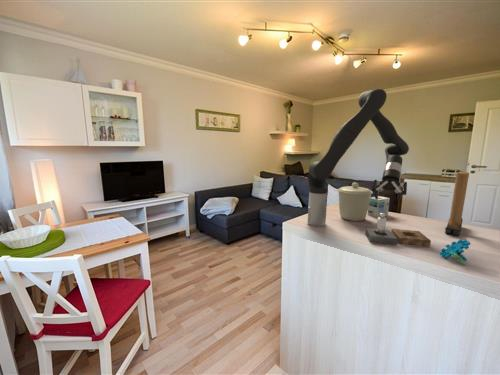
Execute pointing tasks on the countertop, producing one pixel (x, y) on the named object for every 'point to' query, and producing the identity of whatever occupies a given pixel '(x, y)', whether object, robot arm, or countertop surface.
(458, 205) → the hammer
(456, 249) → the blue pixel flower
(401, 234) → the rack block
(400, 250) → the countertop surface
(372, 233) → the socket block
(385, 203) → the light bulb box
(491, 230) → the countertop surface
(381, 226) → the steel pin
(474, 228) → the countertop surface
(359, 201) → the canister
